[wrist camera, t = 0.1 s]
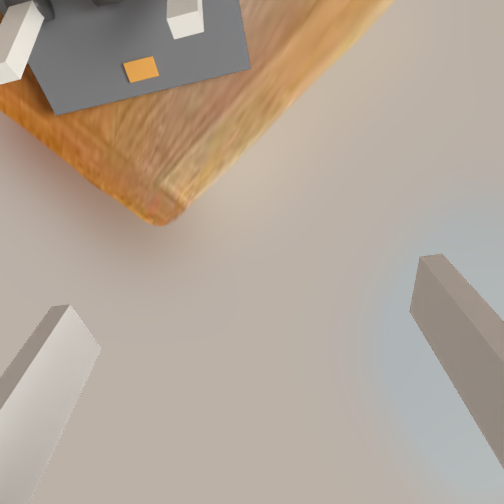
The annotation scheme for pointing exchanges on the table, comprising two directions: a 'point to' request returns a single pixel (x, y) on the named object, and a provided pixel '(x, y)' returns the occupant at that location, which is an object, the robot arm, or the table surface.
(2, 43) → the lever
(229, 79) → the table surface
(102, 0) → the lever
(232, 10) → the breaker panel
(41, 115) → the table surface
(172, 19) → the lever
